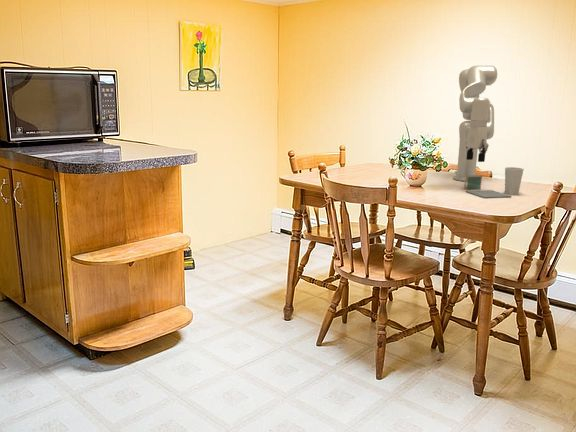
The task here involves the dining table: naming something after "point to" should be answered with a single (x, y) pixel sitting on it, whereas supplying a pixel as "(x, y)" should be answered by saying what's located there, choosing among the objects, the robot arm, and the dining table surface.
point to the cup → (513, 180)
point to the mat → (488, 194)
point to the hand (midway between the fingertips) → (475, 160)
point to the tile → (473, 182)
